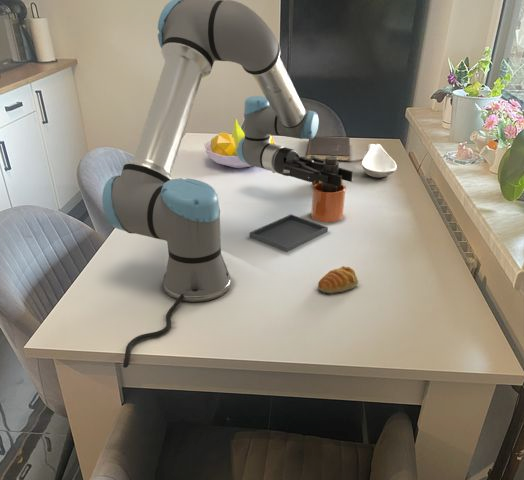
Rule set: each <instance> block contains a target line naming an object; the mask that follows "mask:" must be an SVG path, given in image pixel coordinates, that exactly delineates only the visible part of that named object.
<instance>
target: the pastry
mask: <svg viewBox="0 0 524 480" xmlns="http://www.w3.org/2000/svg"><path fill="white" fill-rule="evenodd" d="M358 284H359V280H358V276H357V274H356V272H355V270H354V269H353V268H352V267H350V266H344V265H342V266H341V267H339V268H335V269H331V270H329V271H328V272H327V273H325V274H324V275H323V277H321V279H320V280H319V281H318V283H317V286H318V287H317V289H318V291H321V292H324V293H327V294H335V293H336V294H337V293H343V292H346V291H348V290H352V289H354V288H355V287H356V286H357V285H358Z"/></svg>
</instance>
